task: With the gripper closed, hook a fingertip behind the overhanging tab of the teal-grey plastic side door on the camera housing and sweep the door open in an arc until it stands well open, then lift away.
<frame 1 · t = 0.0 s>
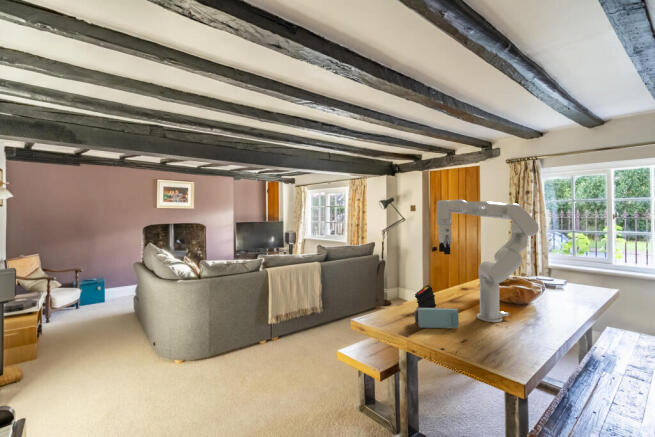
hand: (444, 252, 169), 37 cm above the table, tool pointing down, fingers open, 9 cm apart
side door: (438, 318, 156), point 5 cm above the table, hinge at 0.0°
camera housing: (431, 324, 161), on the table
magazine: (425, 311, 183), on the table
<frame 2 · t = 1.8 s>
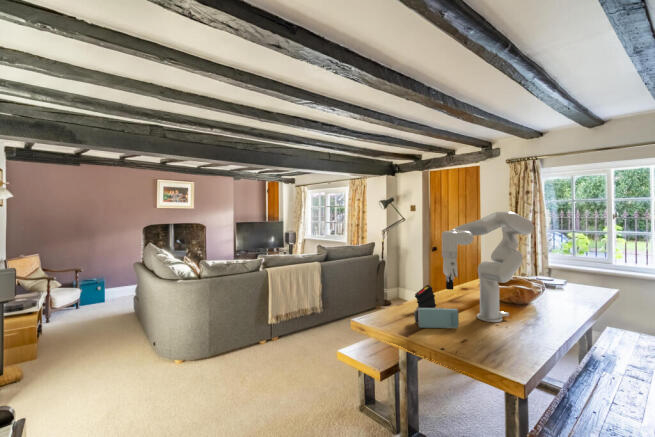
hand: (449, 289, 160), 19 cm above the table, tool pointing down, fingers closed
nothing on the table moved.
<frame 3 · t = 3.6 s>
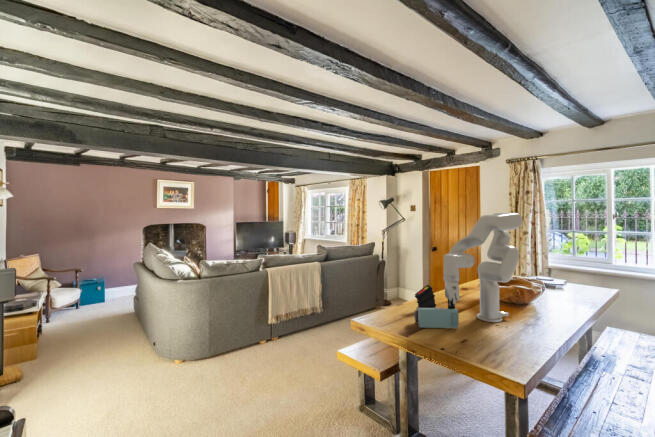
hand: (451, 312, 158), 7 cm above the table, tool pointing down, fingers closed
side door: (438, 318, 156), point 5 cm above the table, hinge at 0.3°, touching gripper
everything else where it was.
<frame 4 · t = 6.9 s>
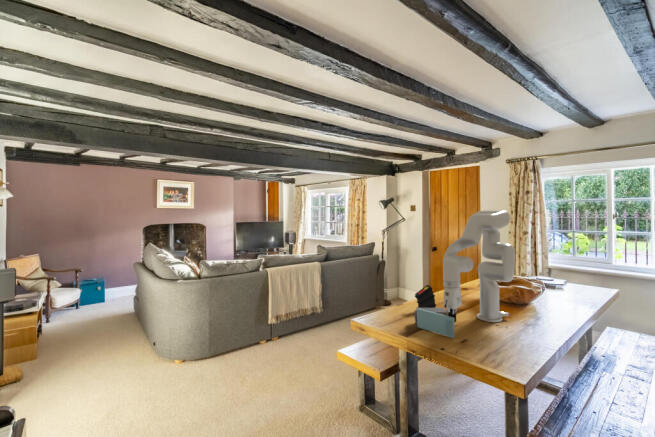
hand: (452, 321, 147), 7 cm above the table, tool pointing down, fingers closed
side door: (434, 322, 150), point 5 cm above the table, hinge at 42.9°, touching gripper
everything else where it was.
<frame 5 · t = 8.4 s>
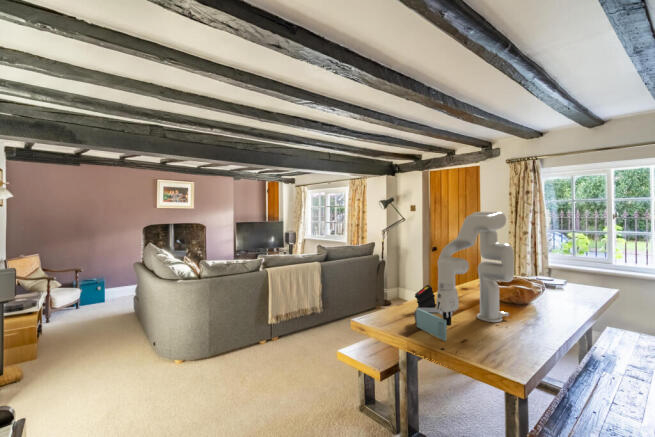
hand: (447, 324, 143), 7 cm above the table, tool pointing down, fingers closed
side door: (429, 323, 149), point 5 cm above the table, hinge at 60.5°, touching gripper
everything else where it was.
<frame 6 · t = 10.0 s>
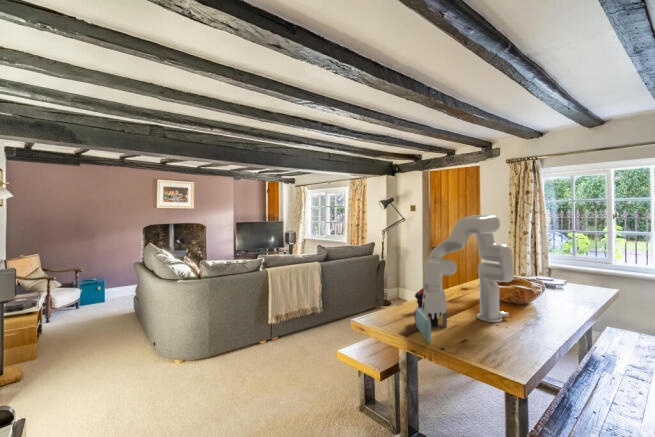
hand: (434, 326, 141), 7 cm above the table, tool pointing down, fingers closed
side door: (421, 324, 149), point 5 cm above the table, hinge at 84.4°, touching camera housing, gripper
everything else where it was.
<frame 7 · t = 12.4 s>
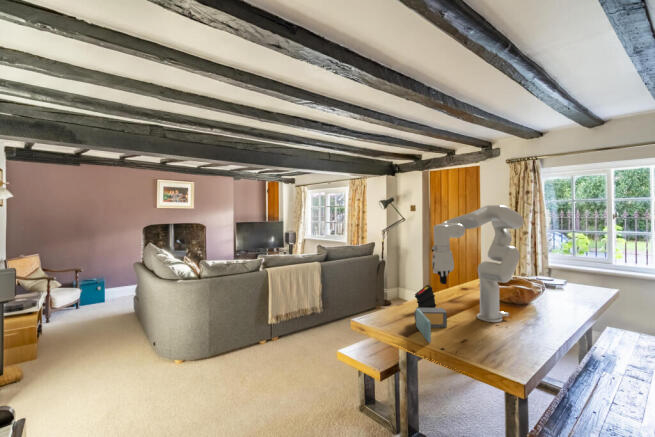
hand: (443, 283, 157), 23 cm above the table, tool pointing down, fingers closed
side door: (421, 324, 149), point 5 cm above the table, hinge at 84.6°, touching camera housing
everything else where it was.
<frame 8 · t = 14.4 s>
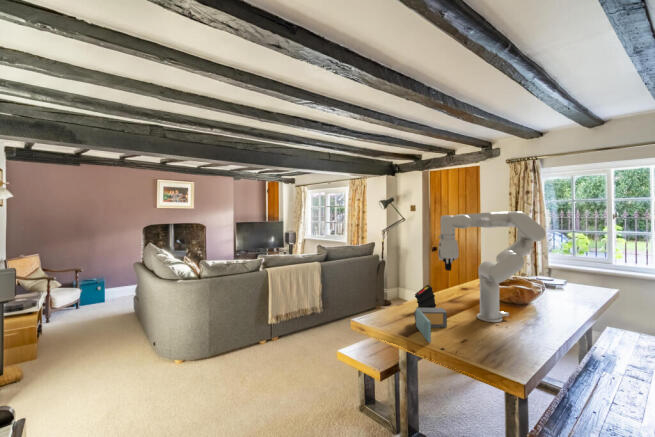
hand: (448, 270, 170), 27 cm above the table, tool pointing down, fingers closed
nothing on the table moved.
at the end: side door at +85° (first picture: +0°); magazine moved 0.3 cm from its start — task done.
